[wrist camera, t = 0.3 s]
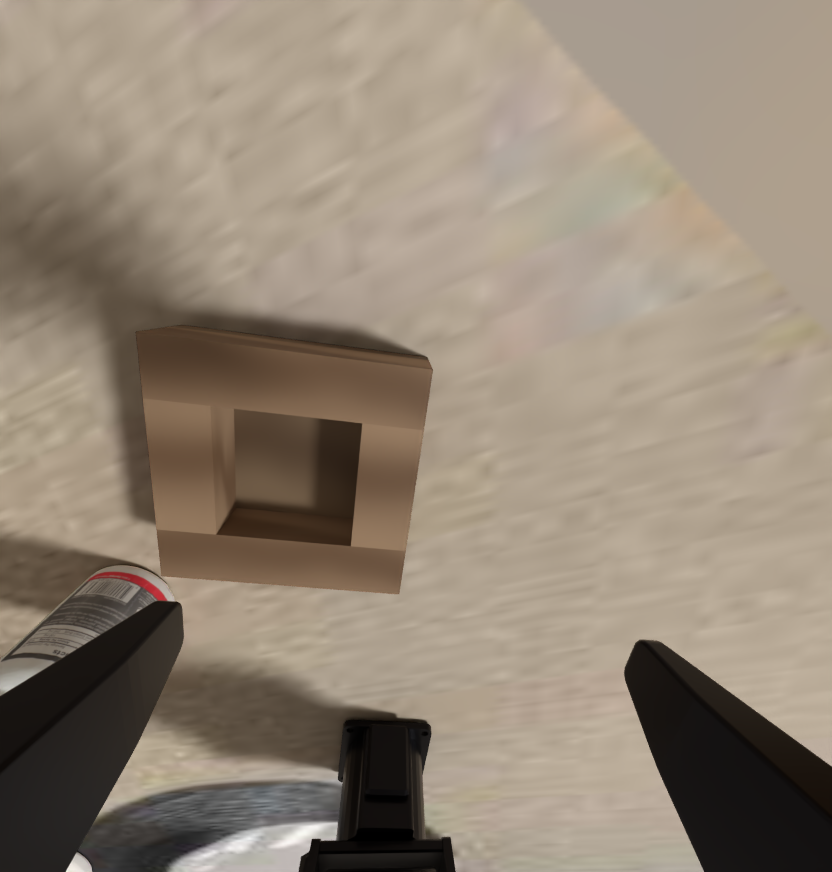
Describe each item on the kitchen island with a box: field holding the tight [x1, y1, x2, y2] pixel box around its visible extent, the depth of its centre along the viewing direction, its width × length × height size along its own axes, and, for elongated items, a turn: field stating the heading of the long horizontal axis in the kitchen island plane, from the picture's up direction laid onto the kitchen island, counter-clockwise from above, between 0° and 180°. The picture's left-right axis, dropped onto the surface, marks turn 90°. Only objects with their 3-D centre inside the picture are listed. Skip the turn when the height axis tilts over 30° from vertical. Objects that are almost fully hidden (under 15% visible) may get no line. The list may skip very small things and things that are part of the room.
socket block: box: [136, 325, 433, 594], centre depth 20 cm, size 12×12×4 cm
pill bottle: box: [0, 565, 175, 696], centre depth 20 cm, size 5×5×10 cm
